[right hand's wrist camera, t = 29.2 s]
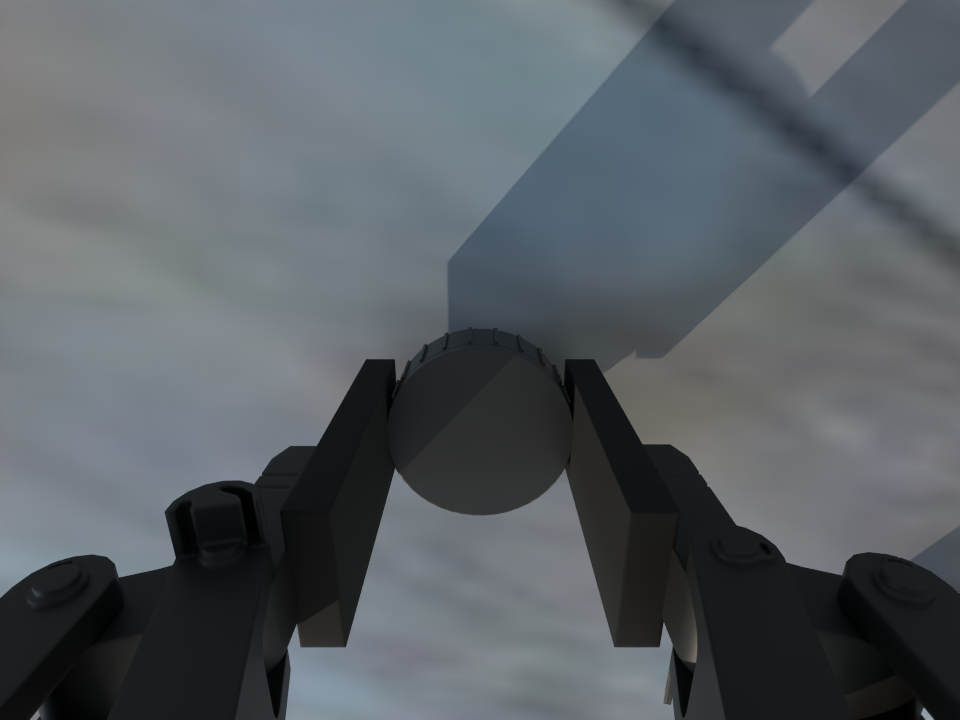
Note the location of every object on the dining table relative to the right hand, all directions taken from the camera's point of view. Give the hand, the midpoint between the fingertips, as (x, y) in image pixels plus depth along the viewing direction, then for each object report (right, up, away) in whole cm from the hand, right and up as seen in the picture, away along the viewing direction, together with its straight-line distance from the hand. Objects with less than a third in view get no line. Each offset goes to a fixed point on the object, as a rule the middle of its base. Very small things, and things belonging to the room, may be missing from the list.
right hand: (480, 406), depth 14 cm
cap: (0, -1, -1) cm, 1 cm away
